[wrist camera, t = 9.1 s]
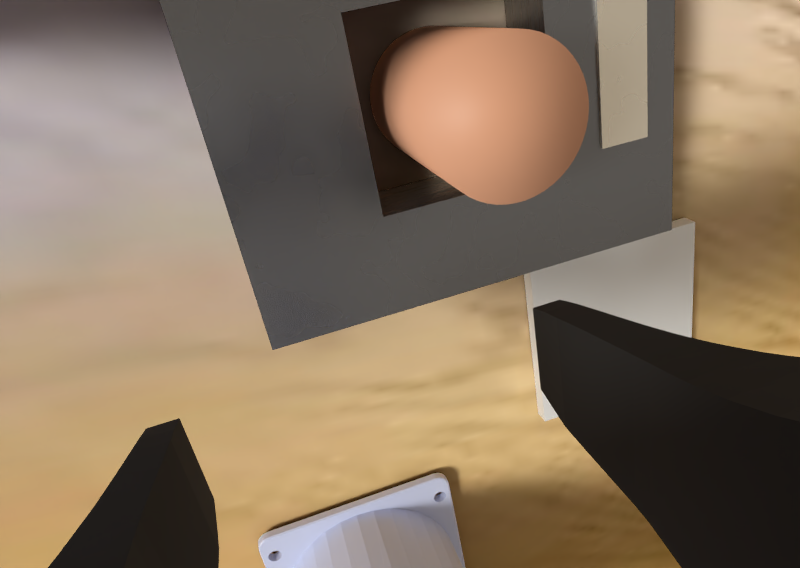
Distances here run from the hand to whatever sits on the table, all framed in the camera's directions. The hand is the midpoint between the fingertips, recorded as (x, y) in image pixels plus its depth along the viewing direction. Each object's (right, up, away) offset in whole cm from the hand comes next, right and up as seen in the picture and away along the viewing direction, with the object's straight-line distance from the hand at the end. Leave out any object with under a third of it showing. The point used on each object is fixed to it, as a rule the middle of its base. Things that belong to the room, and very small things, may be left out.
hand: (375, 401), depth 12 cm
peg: (+1, +8, +7) cm, 11 cm away
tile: (+9, +1, +13) cm, 16 cm away
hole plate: (+1, +8, +7) cm, 11 cm away
